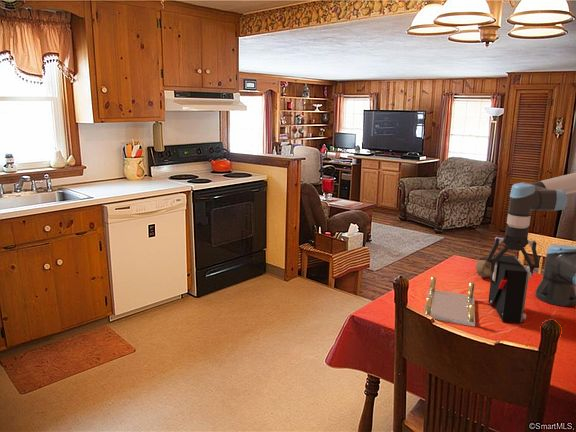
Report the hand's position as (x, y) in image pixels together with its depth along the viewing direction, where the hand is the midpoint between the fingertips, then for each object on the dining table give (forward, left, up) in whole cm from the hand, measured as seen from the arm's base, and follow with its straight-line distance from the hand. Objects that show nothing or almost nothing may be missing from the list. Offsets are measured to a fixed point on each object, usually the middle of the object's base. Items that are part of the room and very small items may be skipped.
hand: (509, 281), depth 171 cm
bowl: (+4, -41, -13) cm, 43 cm away
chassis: (+20, +4, -13) cm, 24 cm away
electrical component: (0, 0, -13) cm, 13 cm away
